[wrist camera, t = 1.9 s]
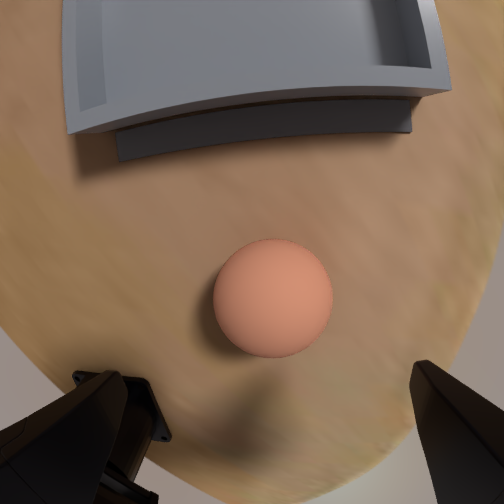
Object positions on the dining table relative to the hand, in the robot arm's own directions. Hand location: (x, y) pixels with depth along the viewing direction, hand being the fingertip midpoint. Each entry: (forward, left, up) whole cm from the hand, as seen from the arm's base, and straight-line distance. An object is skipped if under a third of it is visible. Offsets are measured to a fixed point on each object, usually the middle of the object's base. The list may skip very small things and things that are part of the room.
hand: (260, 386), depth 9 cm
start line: (+7, 0, -8) cm, 11 cm away
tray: (+16, 0, -8) cm, 18 cm away
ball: (0, 0, -5) cm, 5 cm away
